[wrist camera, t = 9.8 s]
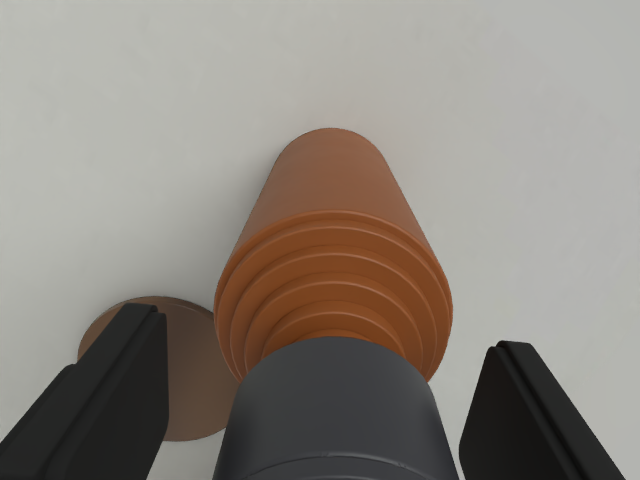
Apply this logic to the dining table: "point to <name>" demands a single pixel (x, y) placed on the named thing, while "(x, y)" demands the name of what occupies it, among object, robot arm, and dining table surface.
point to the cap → (334, 417)
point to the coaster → (186, 367)
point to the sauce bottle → (332, 261)
